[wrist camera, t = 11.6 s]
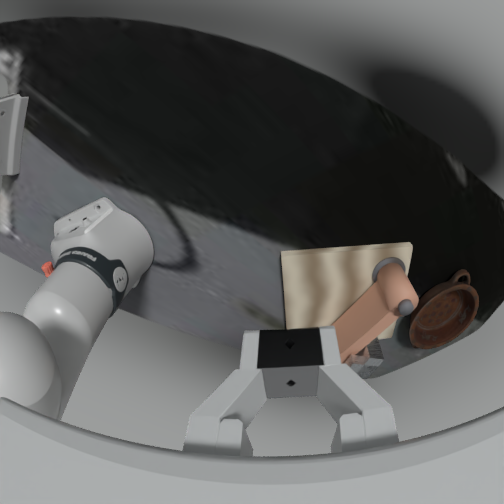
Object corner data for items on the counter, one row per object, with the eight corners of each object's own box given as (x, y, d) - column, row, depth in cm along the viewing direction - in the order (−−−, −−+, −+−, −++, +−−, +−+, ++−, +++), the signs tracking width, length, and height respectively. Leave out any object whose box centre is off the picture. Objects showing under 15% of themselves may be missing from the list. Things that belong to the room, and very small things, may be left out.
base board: (287, 342, 61) (287, 349, 59) (281, 251, 49) (281, 257, 47) (389, 332, 58) (392, 338, 56) (409, 242, 46) (413, 247, 45)
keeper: (347, 309, 53) (358, 356, 43) (370, 313, 53) (384, 359, 44) (334, 330, 56) (342, 376, 46) (356, 334, 56) (366, 379, 47)
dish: (486, 271, 48) (496, 284, 44) (439, 341, 60) (446, 356, 56) (432, 257, 48) (443, 272, 43) (385, 337, 59) (390, 354, 55)
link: (390, 258, 46) (408, 292, 38) (407, 270, 47) (426, 305, 39) (320, 328, 55) (325, 366, 47) (339, 337, 56) (345, 373, 48)
